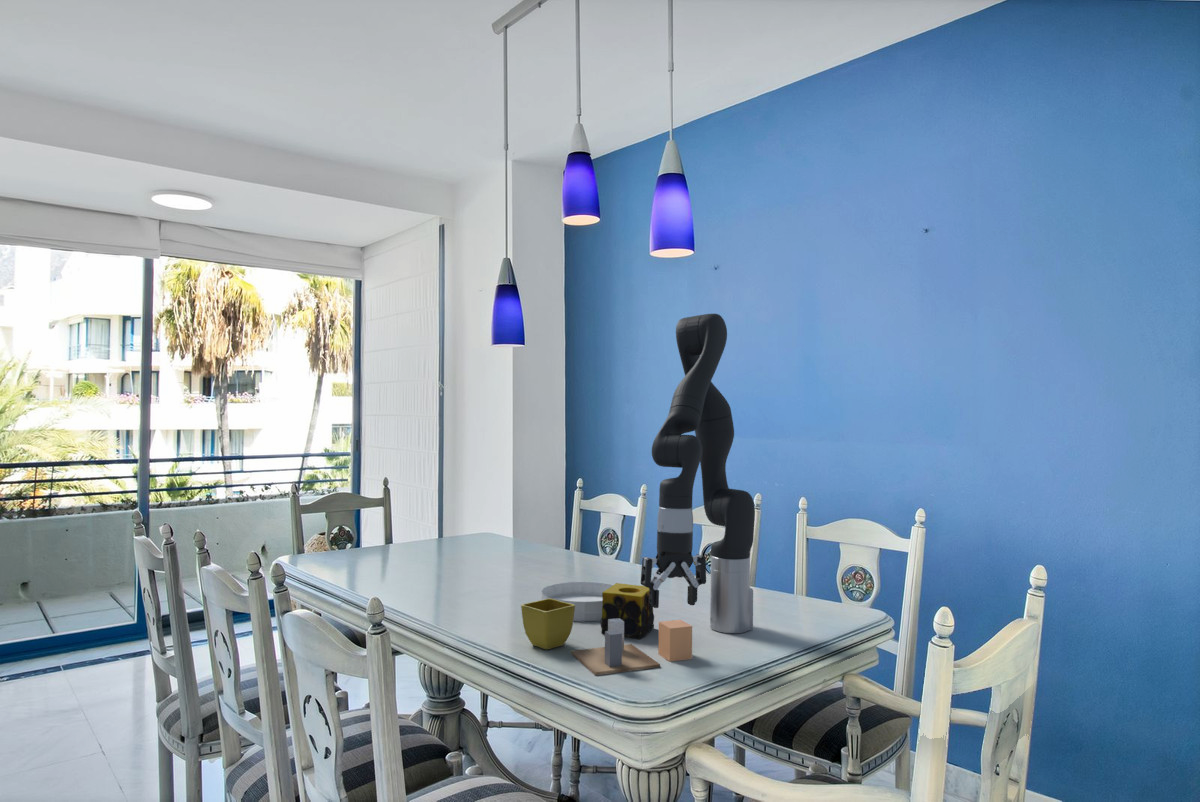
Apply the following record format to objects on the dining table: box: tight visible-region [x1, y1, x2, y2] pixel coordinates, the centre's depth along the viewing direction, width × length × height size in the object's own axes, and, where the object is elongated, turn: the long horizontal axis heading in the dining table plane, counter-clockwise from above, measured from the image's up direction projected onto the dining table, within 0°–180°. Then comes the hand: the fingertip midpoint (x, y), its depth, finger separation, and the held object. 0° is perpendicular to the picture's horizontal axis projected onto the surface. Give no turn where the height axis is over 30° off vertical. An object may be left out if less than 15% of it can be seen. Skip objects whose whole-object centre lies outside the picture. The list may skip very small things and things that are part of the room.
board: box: [570, 643, 661, 676], centre depth 154 cm, size 14×14×1 cm
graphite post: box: [604, 630, 622, 667], centre depth 149 cm, size 3×3×6 cm
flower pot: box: [520, 598, 575, 650], centre depth 163 cm, size 9×9×9 cm
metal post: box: [608, 618, 625, 652], centre depth 158 cm, size 3×3×6 cm
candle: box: [600, 582, 655, 640], centre depth 175 cm, size 10×10×10 cm
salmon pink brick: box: [657, 619, 693, 663], centre depth 157 cm, size 5×5×7 cm
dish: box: [540, 581, 614, 622], centre depth 194 cm, size 22×22×5 cm
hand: (673, 605), depth 157 cm, fingers open, 8 cm apart
